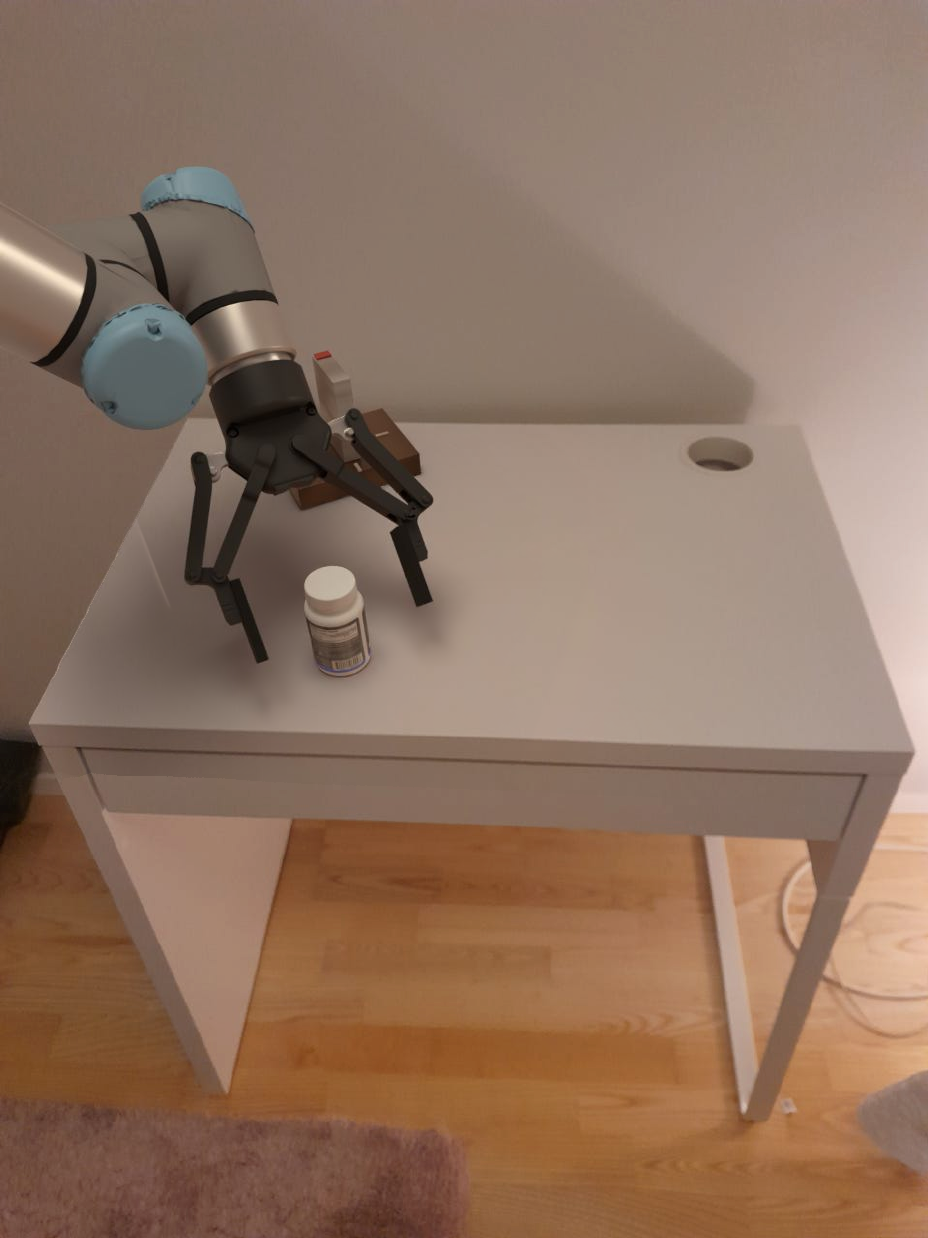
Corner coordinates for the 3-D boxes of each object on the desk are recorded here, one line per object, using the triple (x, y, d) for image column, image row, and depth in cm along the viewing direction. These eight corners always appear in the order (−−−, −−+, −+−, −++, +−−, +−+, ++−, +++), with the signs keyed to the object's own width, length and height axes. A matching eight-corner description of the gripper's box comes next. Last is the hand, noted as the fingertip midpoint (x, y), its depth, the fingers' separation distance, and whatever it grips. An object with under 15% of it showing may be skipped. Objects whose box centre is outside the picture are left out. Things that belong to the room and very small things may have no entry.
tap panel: (302, 510, 93) (297, 488, 91) (271, 459, 100) (266, 438, 98) (421, 474, 97) (420, 452, 95) (384, 427, 104) (381, 405, 102)
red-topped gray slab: (361, 458, 95) (350, 375, 88) (344, 463, 94) (332, 380, 88) (340, 429, 99) (328, 348, 92) (324, 434, 98) (311, 353, 92)
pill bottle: (329, 632, 80) (315, 556, 75) (380, 644, 79) (370, 568, 73) (304, 670, 77) (288, 595, 71) (357, 683, 76) (344, 608, 70)
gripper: (390, 352, 80) (474, 587, 81) (95, 431, 73) (189, 688, 73) (410, 319, 73) (502, 576, 74) (85, 402, 66) (189, 687, 66)
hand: (346, 632), depth 74 cm, fingers open, 13 cm apart
